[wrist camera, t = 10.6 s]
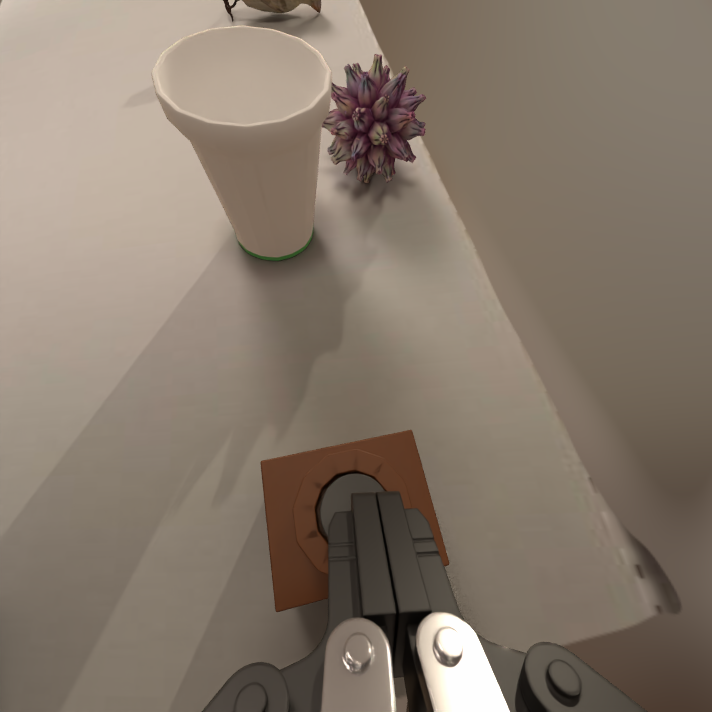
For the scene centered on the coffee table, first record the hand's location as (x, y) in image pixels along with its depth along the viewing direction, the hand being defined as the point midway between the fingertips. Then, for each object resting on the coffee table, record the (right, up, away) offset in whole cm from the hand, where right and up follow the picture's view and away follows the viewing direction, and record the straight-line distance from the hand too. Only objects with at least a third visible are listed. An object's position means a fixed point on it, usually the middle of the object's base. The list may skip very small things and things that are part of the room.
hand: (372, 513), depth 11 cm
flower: (+1, +28, +33) cm, 43 cm away
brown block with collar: (-1, -7, +16) cm, 18 cm away
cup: (-9, +19, +28) cm, 35 cm away
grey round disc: (-1, -4, +8) cm, 9 cm away
